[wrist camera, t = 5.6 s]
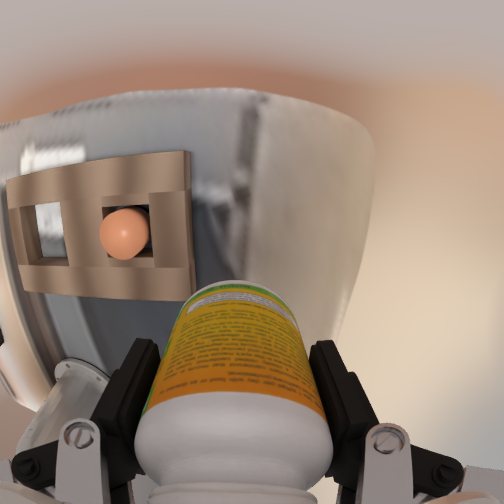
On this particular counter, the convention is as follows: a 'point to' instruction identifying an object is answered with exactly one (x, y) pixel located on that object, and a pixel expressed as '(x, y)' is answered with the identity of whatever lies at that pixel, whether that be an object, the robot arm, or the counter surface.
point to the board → (89, 222)
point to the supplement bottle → (234, 405)
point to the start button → (125, 232)
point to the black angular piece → (1, 339)
